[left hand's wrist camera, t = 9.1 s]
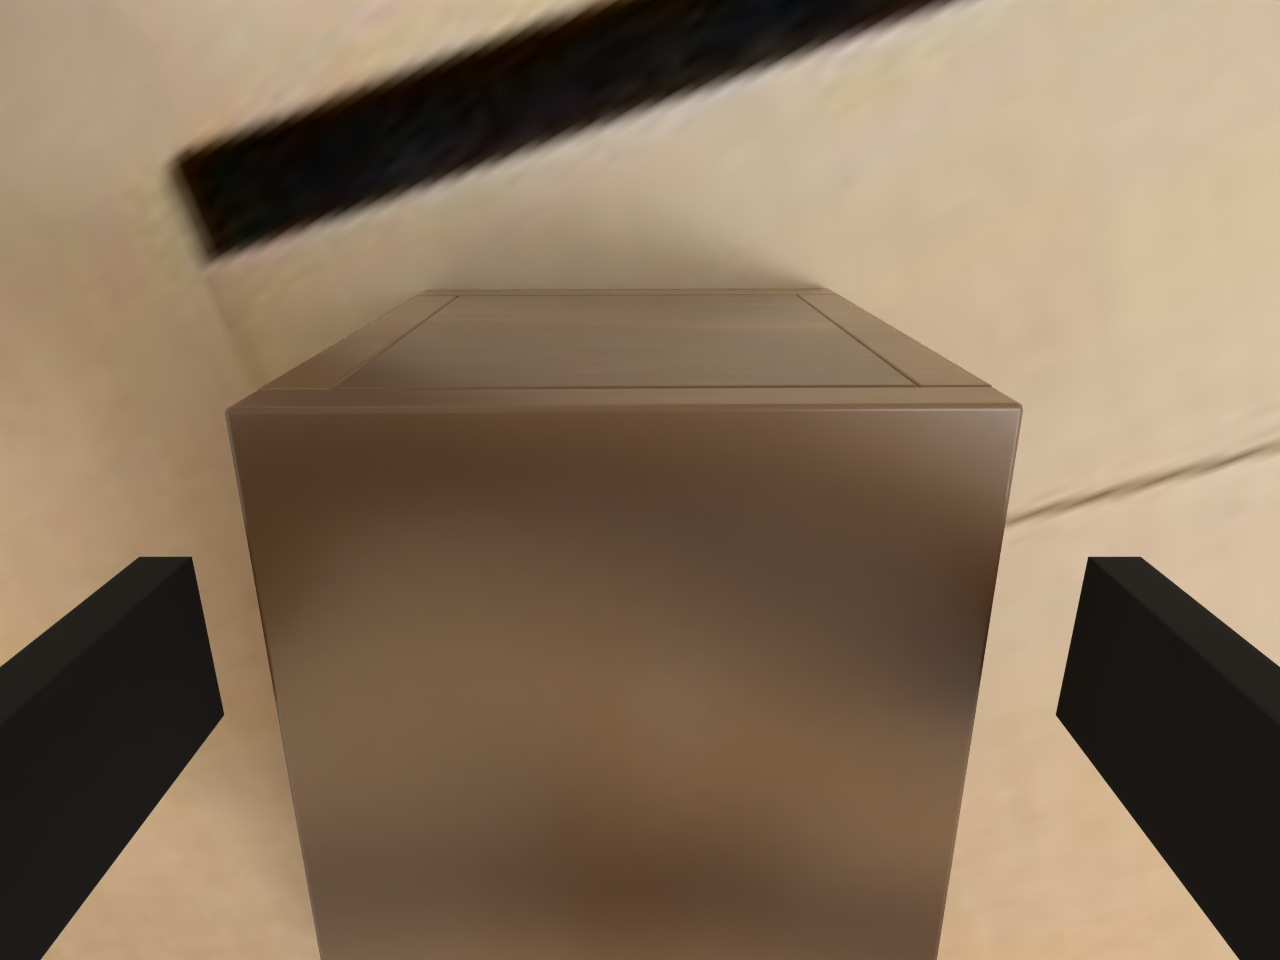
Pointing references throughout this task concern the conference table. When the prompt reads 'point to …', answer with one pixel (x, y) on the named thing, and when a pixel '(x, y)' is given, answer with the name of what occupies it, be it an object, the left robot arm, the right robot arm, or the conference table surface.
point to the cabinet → (626, 623)
